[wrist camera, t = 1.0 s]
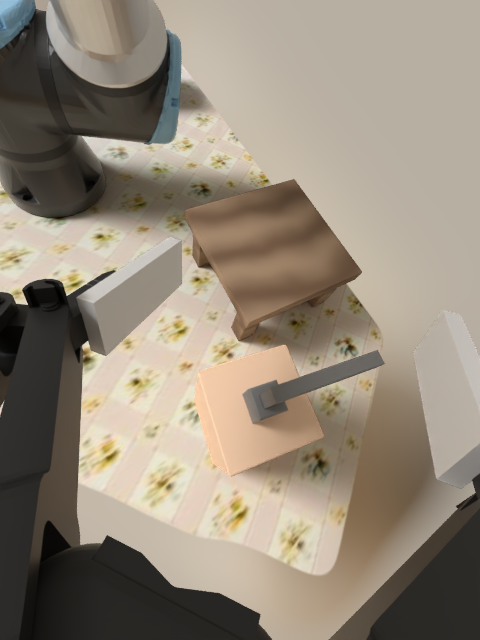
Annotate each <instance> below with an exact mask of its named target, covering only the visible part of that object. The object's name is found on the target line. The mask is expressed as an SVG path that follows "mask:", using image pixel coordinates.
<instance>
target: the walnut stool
mask: <svg viewBox="0 0 480 640" xmlns="http://www.w3.org/2000/svg"><path fill="white" fill-rule="evenodd" d="M186 221H187V223H188V225H189V227H190V228H191V230H192V232H193V258H194V259H195V261H196V263H197V265H198V267H201V266H204V265H207V264H211V266H212V268H213V270H214V271H215V273H216V275H217V277H218V279H219V280H220V282H221V284H222V286H223V288H224V289H225V291H226V293H227V295H228V297H229V298H230V300H231V302H232V304H233V305H234V307H235V309H236V311H237V314H236V316H235V319H234V322H233V325H232V327H231V328H232V330H233V331H234V333H235V335H236V337H237V339H238V341H240V340H242V339H244V338H247V337H249V336H251V335H253V333H254V331H255V330H256V328H257V326H258V324H259V323H260V322H262V321H264V320H266V319H268V318H271V317H273V316H275V315H277V314H279V313H282V312H284V311H286V310H288V309H291V308H293V307H295V306H297V305H299V304H302V303H304V302H306V301H309V302H310V304H311V305H312V307H314V306H316V305H318V304H320V303H322V302H324V301H325V300H326V299H327V298H328V297H329V296H330V295H331V294H332V293H333V292H334V291H335V290H336V288H337V287H339V286H342V285H344V284H346V283H348V282H350V281H352V280H355V279H356V278H357V277H358V276H359V275H360V274H361V273H362V271H361V270H360V268H359V267H358V265H357V264H356V263H355V261H354V260H353V259H352V257H351V256H350V255H349V253H348V252H347V250H346V249H345V248H344V246H343V245H342V244H341V242H340V241H339V240H338V238H337V237H336V235H335V234H334V233H333V232H332V230H331V229H330V227H329V226H328V225H327V223H326V222H325V220H324V219H323V218H322V216H321V215H320V214H319V212H318V211H317V210H316V208H315V207H314V205H313V204H312V203H311V201H310V200H309V199H308V197H307V196H306V195H305V193H304V192H303V190H302V189H301V188H300V186H299V185H298V184H297V182H296V181H295V180H294V179H293V180H290V181H286V182H282V183H279V184H276V185H271V186H268V187H264V188H261V189H257V190H254V191H250V192H246V193H243V194H239V195H236V196H232V197H229V198H225V199H221V200H218V201H214V202H211V203H207V204H204V205H200V206H196V207H193V208H189V209H186Z"/></svg>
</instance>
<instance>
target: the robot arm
mask: <svg viewBox="0 0 480 640" xmlns="http://www.w3.org/2000/svg"><path fill="white" fill-rule="evenodd" d="M180 86H181V43H180V40H179V38H178V37H177V36H176V35H175V34H173V33H171V32H170V31H169V30H166V27H165V23H164V19H163V16H162V14H161V12H160V10H159V8H158V6H157V5H156V3H155V2H154V1H153V0H49V3H48V6H47V11H41V10H38V9H36V6H35V1H34V0H0V181H1V184H2V186H3V188H4V190H5V191H6V192H7V194H8V195H9V197H10V198H11V199H12V201H13V202H14V203H15V204H16V205H17V206H18V207H20V208H21V209H23V210H25V211H27V212H29V213H31V214H35V215H38V216H44V217H64V216H70V215H74V214H77V213H80V212H82V211H84V210H86V209H88V208H89V207H91V206H92V205H94V204H95V203H96V202H97V201H98V200H99V199H100V197H101V196H102V194H103V192H104V189H105V184H106V181H105V176H104V172H103V169H102V166H101V164H100V162H99V160H98V158H97V157H96V155H95V154H94V153H93V151H92V150H91V149H90V147H89V146H88V145H87V143H86V142H85V140H84V139H83V138H82V136H88V137H97V138H107V139H116V140H124V141H132V142H140V143H144V144H147V145H149V144H152V143H157V144H168V143H170V142H171V141H172V140H173V139H174V137H175V135H176V131H177V124H178V115H179V98H180ZM181 284H182V243H181V240H179V239H175V238H171V237H168V238H166V239H165V240H163V241H162V242H160V243H159V244H157V245H156V246H154V247H153V248H151V249H150V250H148V251H146V252H145V253H143V254H142V255H140V256H139V257H137V258H136V259H134V260H133V261H131V262H130V263H128V264H127V265H125V266H124V267H122V268H120V269H119V270H117V271H114V270H113V271H110V272H107V273H104V274H101V275H100V276H98V277H97V278H95V279H94V280H92V281H90V282H89V283H87V285H84V286H82V287H81V288H79V289H78V290H76V291H74V292H73V293H71V294H70V295H68V296H66V293H65V290H64V286H63V283H62V282H60V281H59V280H54V279H43V280H37V281H34V282H31V283H29V284H28V285H26V286H25V287H24V288H23V290H22V291H23V293H24V296H25V298H26V300H27V303H28V305H22V304H16V303H15V300H14V298H13V296H12V295H11V294H9V293H4V292H0V407H1V405H2V403H3V402H4V404H3V408H2V412H1V415H0V640H272V639H271V638H270V636H269V635H268V634H267V632H266V631H265V630H264V629H263V628H262V627H261V626H260V625H259V619H260V614H259V613H257V612H255V611H253V610H251V609H249V608H247V607H245V606H243V605H241V604H239V603H237V602H235V601H234V600H232V599H230V598H228V597H226V596H224V595H222V594H220V593H214V592H206V591H198V590H191V589H184V588H177V587H174V586H172V585H171V584H170V583H169V582H168V581H167V580H166V579H165V578H164V577H163V575H162V574H161V573H160V572H159V571H158V570H157V569H156V568H155V567H154V566H153V565H152V564H151V563H150V562H149V561H148V560H147V558H146V557H145V556H144V555H143V554H142V553H141V552H139V551H137V550H135V549H133V548H131V547H129V546H127V545H125V544H123V543H121V542H119V541H117V540H115V539H113V538H111V537H109V536H108V535H107V536H106V538H105V540H104V541H103V543H102V544H100V543H96V544H95V543H94V544H85V545H80V532H79V524H78V518H77V490H78V489H77V488H78V466H79V442H80V419H81V395H82V371H83V349H82V345H83V344H84V343H85V342H87V341H89V345H90V348H91V351H94V352H97V353H99V354H102V355H105V356H107V355H108V354H109V353H110V352H111V351H112V350H113V349H114V348H115V347H116V346H117V345H118V344H119V343H120V342H121V341H123V340H124V339H125V338H126V337H127V336H128V335H129V334H130V333H131V332H132V331H133V330H134V329H135V328H136V327H137V326H138V325H139V324H140V323H141V322H142V321H144V320H145V319H146V318H147V317H148V316H149V315H150V314H151V313H152V312H153V311H154V310H155V309H156V308H157V307H158V306H159V305H160V304H161V303H162V302H163V301H165V300H166V299H167V298H168V297H169V296H170V295H171V294H172V293H173V292H174V291H175V290H176V289H177V288H178V287H179V286H180V285H181ZM413 356H414V361H415V366H416V372H417V377H418V382H419V388H420V394H421V399H422V405H423V410H424V415H425V421H426V426H427V432H428V437H429V443H430V448H431V454H432V459H433V464H434V470H435V475H436V480H439V481H441V482H444V483H447V484H449V485H452V486H455V487H458V488H460V489H461V488H463V487H464V486H465V485H467V484H468V483H470V482H471V481H473V485H474V488H475V492H476V493H475V494H474V495H472V496H470V497H469V498H467V499H466V500H464V501H463V502H462V503H460V504H459V505H457V506H456V507H457V508H458V509H457V510H456V511H455V512H454V513H453V514H452V515H451V517H449V519H447V521H445V522H444V523H443V525H442V526H441V527H440V528H439V529H438V530H437V531H436V532H435V533H434V534H433V535H432V536H431V537H430V538H429V539H428V540H427V541H426V542H425V543H424V544H423V545H422V546H421V547H420V548H419V549H418V550H417V551H416V552H415V553H414V554H413V555H412V556H411V557H410V558H409V559H408V560H407V561H406V562H405V563H404V564H403V565H402V566H401V567H400V568H399V569H398V570H397V571H396V572H395V573H394V574H393V575H392V576H391V577H390V578H389V579H388V580H387V581H386V582H385V583H384V584H383V585H382V586H381V587H380V588H379V589H378V590H377V591H376V593H375V594H374V595H373V596H372V597H371V598H370V599H369V600H368V601H367V602H366V603H365V604H364V605H363V606H362V607H361V608H360V609H359V610H358V611H357V612H356V613H355V614H354V615H353V616H352V617H351V618H350V619H349V620H348V621H347V622H346V623H345V624H344V625H343V626H342V627H341V628H340V629H339V630H338V631H337V632H336V633H335V634H334V635H333V636H332V637H331V638H330V639H329V640H480V357H479V354H478V352H477V350H476V348H475V345H474V343H473V341H472V339H471V337H470V334H469V332H468V330H467V328H466V325H465V323H464V321H463V319H462V316H461V315H460V314H457V313H453V312H449V311H445V310H442V311H441V313H440V314H439V315H438V317H437V318H436V320H435V321H434V323H433V324H432V326H431V327H430V329H429V330H428V332H427V333H426V335H425V336H424V338H423V339H422V340H421V342H420V344H419V345H418V346H417V348H416V350H415V351H414V352H413ZM4 400H5V401H4Z"/></svg>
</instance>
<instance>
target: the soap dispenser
mask: <svg viewBox="0 0 480 640" xmlns="http://www.w3.org/2000/svg"><path fill="white" fill-rule="evenodd" d="M383 364H384V361H383V360H382V358H381V356H380V354H379V352H378V350H377V351H374V352H371V353H368V354H365V355H362V356H359V357H356V358H353V359H351V360H348V361H345V362H342V363H339V364H336V365H333V366H330V367H328V368H325V369H322V370H319V371H316V372H313V373H310V374H307V375H304V376H302V377H300V376H299V374H298V372H297V369H296V367H295V364H294V362H293V360H292V357H291V355H290V352H289V350H288V348H287V346H286V345H281V346H278V347H275V348H272V349H268V350H265V351H262V352H259V353H255V354H252V355H249V356H246V357H242V358H239V359H236V360H233V361H229V362H226V363H223V364H220V365H216V366H213V367H210V368H207V369H203V370H200V371H199V372H198V376H197V384H196V391H195V398H194V401H195V404H196V408H197V411H198V415H199V418H200V422H201V425H202V429H203V432H204V435H205V439H206V442H207V446H208V449H209V453H210V456H211V460H212V463H213V464H215V465H216V466H217V467H219V468H220V469H221V470H223V471H224V472H225V473H227V474H228V475H230V476H234V475H236V474H239V473H241V472H244V471H246V470H248V469H251V468H253V467H255V466H258V465H260V464H263V463H265V462H267V461H270V460H272V459H274V458H277V457H279V456H281V455H284V454H286V453H289V452H291V451H293V450H296V449H298V448H300V447H303V446H305V445H308V444H310V443H312V442H315V441H317V440H319V439H322V438H323V437H324V434H323V431H322V429H321V426H320V424H319V422H318V419H317V417H316V415H315V412H314V410H313V407H312V405H311V403H310V400H309V398H308V395H307V393H308V392H311V391H313V390H316V389H319V388H322V387H324V386H327V385H330V384H333V383H335V382H338V381H341V380H343V379H346V378H349V377H352V376H354V375H357V374H360V373H363V372H365V371H368V370H371V369H373V368H376V367H378V366H381V365H383Z"/></svg>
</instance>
